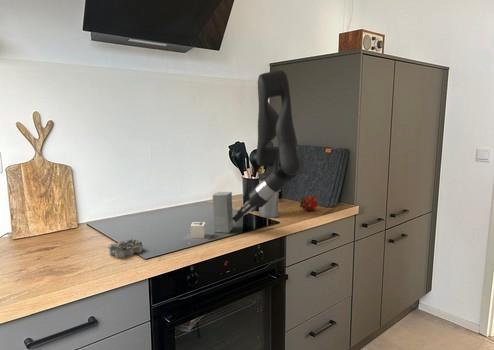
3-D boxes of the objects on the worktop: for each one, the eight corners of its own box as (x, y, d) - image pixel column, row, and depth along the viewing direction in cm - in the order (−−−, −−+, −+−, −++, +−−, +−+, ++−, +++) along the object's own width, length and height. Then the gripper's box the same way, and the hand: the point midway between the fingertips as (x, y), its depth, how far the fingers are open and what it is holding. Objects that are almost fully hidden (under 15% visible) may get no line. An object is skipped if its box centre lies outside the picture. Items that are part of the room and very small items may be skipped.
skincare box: (228, 233, 147) (228, 195, 144) (211, 232, 148) (211, 194, 146) (233, 227, 155) (233, 191, 153) (217, 226, 156) (217, 190, 154)
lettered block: (193, 234, 146) (192, 221, 145) (205, 234, 146) (205, 221, 145) (190, 238, 141) (190, 225, 140) (203, 238, 141) (203, 225, 140)
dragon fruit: (299, 215, 182) (313, 214, 190) (311, 207, 177) (326, 207, 185) (293, 199, 185) (307, 200, 194) (305, 192, 180) (319, 192, 188)
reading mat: (190, 232, 149) (190, 231, 149) (214, 233, 147) (214, 233, 147) (181, 240, 139) (181, 239, 139) (206, 241, 138) (206, 241, 137)
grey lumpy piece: (117, 260, 119) (116, 248, 119) (106, 254, 124) (105, 243, 124) (146, 251, 127) (145, 240, 126) (134, 246, 132) (133, 235, 131)
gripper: (262, 183, 150) (234, 209, 156) (251, 188, 137) (221, 217, 143) (274, 196, 148) (246, 222, 155) (264, 203, 136) (234, 231, 142)
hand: (234, 219), depth 149 cm, fingers closed
